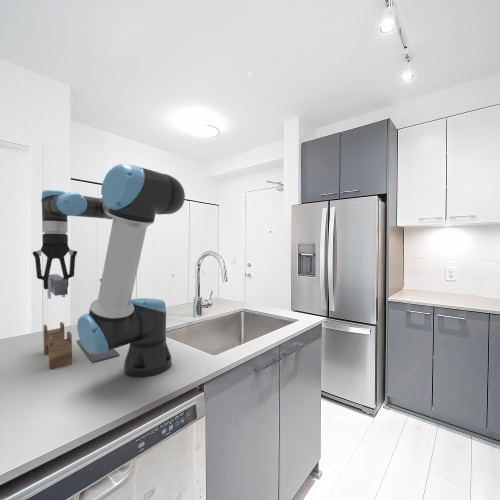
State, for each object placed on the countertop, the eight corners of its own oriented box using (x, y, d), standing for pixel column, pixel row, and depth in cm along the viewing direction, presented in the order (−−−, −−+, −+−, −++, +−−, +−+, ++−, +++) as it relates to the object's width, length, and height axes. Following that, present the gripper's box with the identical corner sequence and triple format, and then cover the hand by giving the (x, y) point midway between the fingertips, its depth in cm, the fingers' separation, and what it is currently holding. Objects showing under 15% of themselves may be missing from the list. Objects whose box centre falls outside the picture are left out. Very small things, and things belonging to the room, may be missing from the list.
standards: (72, 363, 94) (71, 334, 94) (50, 369, 90) (49, 338, 89) (63, 347, 109) (62, 321, 108) (43, 351, 104) (43, 325, 104)
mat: (119, 355, 101) (119, 354, 101) (92, 363, 95) (92, 361, 95) (100, 336, 121) (100, 335, 121) (76, 341, 115) (76, 340, 115)
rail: (67, 294, 91) (67, 279, 91) (54, 295, 89) (54, 280, 88) (57, 286, 109) (57, 274, 109) (46, 287, 106) (46, 274, 106)
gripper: (79, 234, 107) (80, 293, 107) (25, 233, 95) (26, 298, 96) (83, 233, 101) (84, 295, 101) (26, 232, 90) (27, 302, 90)
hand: (56, 297), depth 99 cm, fingers closed on rail, 3 cm apart
